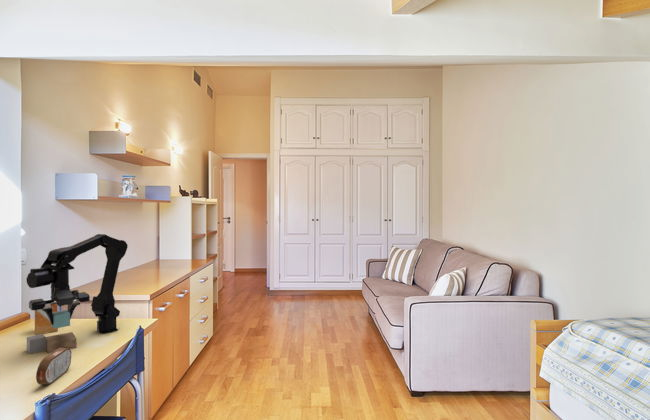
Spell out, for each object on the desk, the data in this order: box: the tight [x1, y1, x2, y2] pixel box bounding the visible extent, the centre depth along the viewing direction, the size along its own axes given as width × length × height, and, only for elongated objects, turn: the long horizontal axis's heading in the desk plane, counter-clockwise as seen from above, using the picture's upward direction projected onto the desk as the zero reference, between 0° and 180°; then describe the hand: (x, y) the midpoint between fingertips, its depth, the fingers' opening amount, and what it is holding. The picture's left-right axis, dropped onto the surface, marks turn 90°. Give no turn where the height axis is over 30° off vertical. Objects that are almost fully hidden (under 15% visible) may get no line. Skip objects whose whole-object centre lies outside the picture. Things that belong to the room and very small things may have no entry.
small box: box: [34, 298, 59, 335], centre depth 169 cm, size 8×6×13 cm
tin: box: [35, 348, 72, 386], centre depth 126 cm, size 15×3×8 cm, turn 5°
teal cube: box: [51, 309, 71, 329], centre depth 151 cm, size 5×5×5 cm
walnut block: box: [45, 331, 77, 354], centre depth 151 cm, size 9×9×4 cm
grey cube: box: [26, 333, 47, 355], centre depth 148 cm, size 5×5×5 cm
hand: (60, 322), depth 151 cm, fingers closed on teal cube, 5 cm apart
